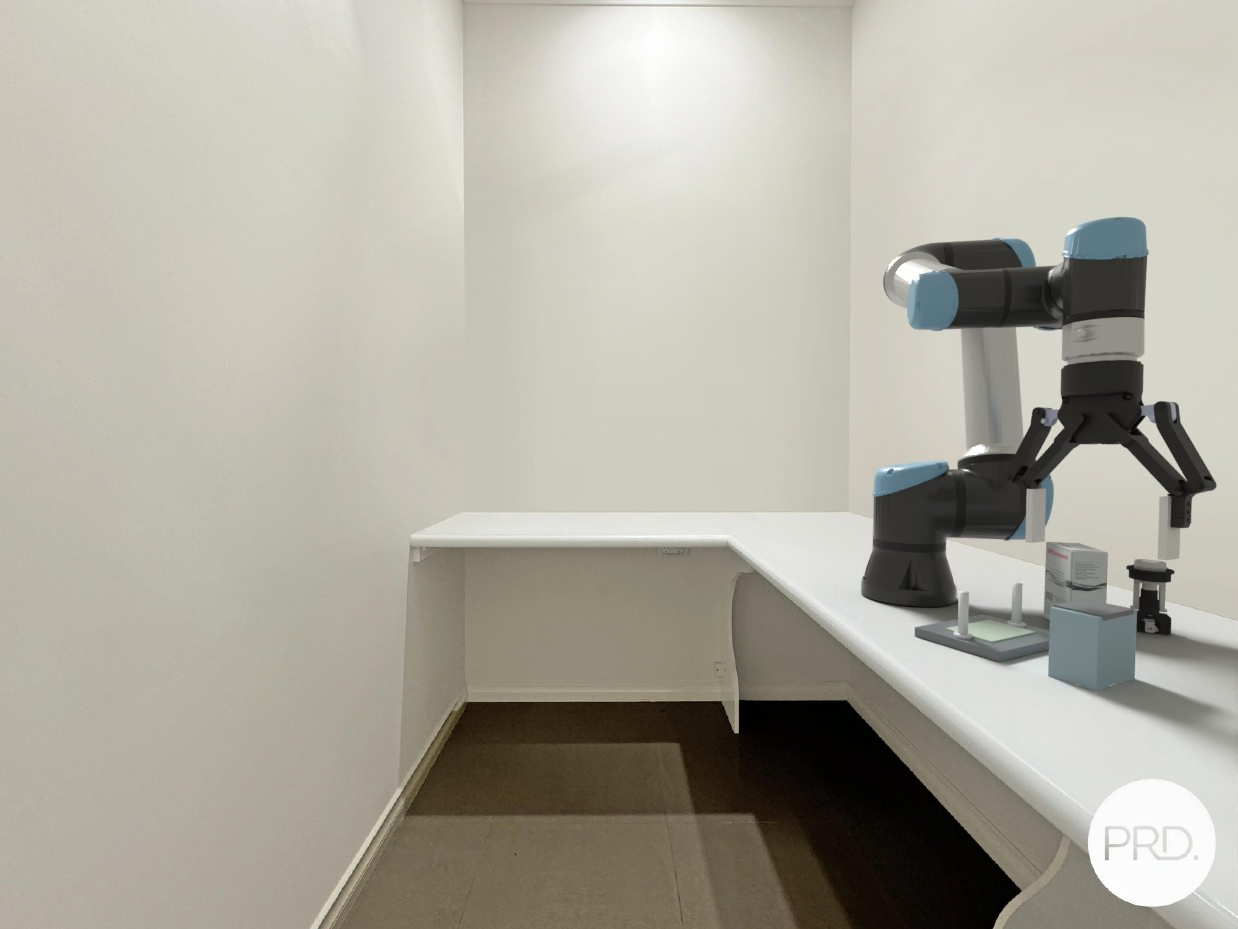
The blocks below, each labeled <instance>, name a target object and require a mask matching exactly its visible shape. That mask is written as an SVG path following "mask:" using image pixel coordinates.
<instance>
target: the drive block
mask: <svg viewBox="0 0 1238 929" xmlns="http://www.w3.org/2000/svg"><path fill="white" fill-rule="evenodd" d="M1136 626H1137V609H1132V608H1130V607H1126V606H1122V605H1116V604H1111V603H1107V602H1106V603H1102V602H1097V601H1092V600H1087V599H1082V600H1077V601H1072V602H1067V603H1062V604H1056V605H1054V607H1051V608H1050V620H1049V631H1050V632H1049V650H1048V667H1047V668H1048V672H1047V676H1048V677H1049V678H1050V677H1051V678H1054V679H1057V680H1060V681H1064V682H1066V683H1069V684H1072V685H1076V684H1078V685H1077V686H1079V685H1080V686H1079V687H1082V686H1083V688H1085V687H1086V689H1089V688H1091V689H1090V690H1092V689H1093V690H1092V691H1096V690H1097V691H1100V690H1102V689H1101V688H1103V689H1106V688H1109V687H1108V686H1110V685H1113V684H1116V685H1118V684H1122V683H1125V681H1126V682H1128V681H1131V680H1135V679H1136V678H1135V676H1136V675H1135V674H1136V654H1137V653H1136V651H1137V650H1136V647H1137V631H1136ZM1113 686H1114V685H1113ZM1110 687H1111V686H1110ZM1099 689H1100V690H1099Z"/></svg>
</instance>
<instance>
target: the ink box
mask: <svg viewBox="0 0 1238 929" xmlns="http://www.w3.org/2000/svg"><path fill="white" fill-rule="evenodd" d="M1108 559H1109V552H1107V551H1103V550H1101V549H1097V548H1096V547H1095V548H1094V547H1092V546H1088V545H1085V544H1083V543H1080V542H1064V541H1063V542H1061V541H1060V542H1059V541H1047V542H1046V541H1045V564H1044V567H1045V568H1044V571H1045V572H1044V597H1043V598H1044V599H1043V600H1044V601H1043V618H1045V619H1046V620H1048V621H1050V608H1051V607H1054V605H1056V604H1062V603H1067V602H1072V601H1077V600H1082V599H1087V600H1092V601H1097V602H1102V603H1107V599H1108V597H1107V594H1108V591H1107V589H1108V566H1109V565H1108V561H1109V560H1108Z"/></svg>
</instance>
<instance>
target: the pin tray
mask: <svg viewBox="0 0 1238 929" xmlns="http://www.w3.org/2000/svg"><path fill="white" fill-rule="evenodd" d="M1011 585H1012V588H1011V590H1012V591H1011V619H1004V618H999V617H996V616H992V615H987V614H984V613H983V614H978V615H972V616H969V615H970V614H969V612H970V611H969V610H970V608H969V607H970V606H969V605H970V592H969V591H966V590H959V591H958V605H957V606H958V609H957V610H958V611H957V618H956V619H951V620H946V621H941V622H935V623H930V624H925V625H920V626H915V627H914V637H917V638H921V639H924V640H927V641H931V642H933V643H937V644H940V645H944V646H947V647H950V648H953V649H956V650H958V651H962V652H966V653H969V654H972V655H976V656H978V657H982V658H985V659H989V660H991V661H995V662H998V663H1000V662H1004V661H1007V660H1012V659H1016V658H1020V657H1021V658H1022V657H1024V656H1025V657H1026V656H1029V655H1032V654H1037V653H1040V652H1044V651H1049V632H1050V630H1048V629H1044V628H1039V627H1036V626H1031V625H1027V624H1026V622H1025V621H1022V614H1023V612H1022V611H1023V583H1022V582H1012V584H1011Z"/></svg>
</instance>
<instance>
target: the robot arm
mask: <svg viewBox="0 0 1238 929" xmlns="http://www.w3.org/2000/svg"><path fill="white" fill-rule="evenodd" d="M1147 240H1148V239H1147V226H1146V224H1145V222H1144V221H1143V220H1142V219H1140V218H1139V219H1138V218H1135V217H1130V216H1129V217H1128V216H1117V217H1107V218H1105V217H1104V218H1099V219H1095V220H1090V221H1086V222H1083V223H1081V224H1079V225H1076V226H1074V227H1073V228H1071V229H1070V230H1069V231H1068V232H1067V233H1066V235H1065V237H1064V245H1063V250H1062V253H1061V256H1062V257H1063V261H1062V262H1060V263H1059V264H1055V265H1043V266H1041V265H1040V266H1037V262H1036V260H1035V255H1034V252H1033V250H1032V248H1031V246H1030V245H1029V244H1028V243H1027V242H1026V241H1024V240H1022V239H1020V238H1003V237H994V238H991V239H977V240H960V241H959V240H957V241H945V242H944V241H943V242H941V241H938V242H929V243H925V244H919V245H917V246H914V247H912V248H910V249H908V250H905V251H903V252H901V253H900V254H898V255H897V256H895V257H894V258H893V259H892V261H890V263H888V266H886V269H885V271H884V274H883V278H882V279H883V280H882V285H883V291H884V294H885V295H886V296H887V297H888V299H889V300H890V301H891V302H893V303H894V304H895V305H896V306H899V307H900V308H906V315H907V320H908V325H909V326H910V327H911V328H913V329H914V330H916V331H917V330H919V331H921V330H922V331H928V330H929V331H933V332H939V331H940V332H941V331H944V330H946V331H947V330H960V342H961V360H962V361H961V364H962V385H963V388H962V389H963V404H964V405H963V406H964V425H965V445H966V446H965V447H966V451H965V453H964V454H963V455H961V457H960V458H959V459H957V469H956V468H955V469H954V468H953V469H950V465H949V463H948V461H947V460H933V461H931V460H930V461H919V462H909V463H900V464H899V463H898V464H893V465H887V466H883V467H881V468H879V469H878V470H877V471H875V475H874V480H873V491H872V498H873V508H872V509H873V514H872V518H873V519H872V549H871V552H870V556H869V559H868V561H867V564H866V567H865V571H864V574H863V576H862V578H861V582H860V584H861V585H860V592H861V593H860V594H862V595H863V596H864V597H865V598H869V599H871V600H875V601H878V602H882V603H887V604H891V605H898V606H906V607H907V606H908V607H922V608H923V607H927V608H930V607H931V608H933V607H935V608H936V607H937V608H938V607H947V606H952V605H955V604H956V602H957V599H958V596H957V595H958V594H957V593H958V590H957V585H956V584H955V581H954V576H953V573H952V570H951V566H950V563H949V560H948V558H947V539H948V538H950V539H951V538H953V539H975V540H976V539H978V540H979V539H981V540H982V539H983V540H1003V541H1004V542H1009V541H1013V540H1015V541H1016V540H1017V541H1018V540H1019V541H1025V543H1031V544H1033V543H1034V544H1035V543H1043V542H1045V543H1046V527H1047V524H1048V523H1049V520H1050V517H1051V514H1052V510H1053V505H1054V496H1055V493H1054V492H1055V490H1054V489H1055V488H1054V481H1053V480H1052V476H1051V473H1053V471H1054V470H1055V469H1056V468H1057V467H1058V466H1059V465H1060V463H1061V462H1062V461H1063V460H1064V459H1065V458H1066V457H1068V455H1069V454H1070V453H1071V452H1072V451H1073V450H1074V449H1075V448H1077V447H1079V446H1080V445H1099V444H1100V445H1121V446H1122V447H1123V448H1125V449H1127V450H1128V451H1129V452H1130V453H1131V454H1132V456H1134V458H1135V459H1136V460H1137V461H1138V462H1139V463H1140V464H1141V465H1142V466H1143V467H1144V468H1145V470H1147V471H1148V472H1149V474H1150V475H1151V476H1153V478H1154V479H1155V480H1156V481H1157V482H1158V483H1159V485H1161V487H1163V489H1164V490H1166V492H1167V494H1166V496H1159V500H1158V501H1159V502H1158V531H1157V532H1158V533H1157V534H1158V535H1157V536H1158V537H1157V538H1158V539H1157V540H1158V541H1157V560H1159V561H1170V560H1177V559H1180V546H1181V545H1180V544H1181V529H1188V528H1190V526H1191V525H1192V510H1193V509H1192V508H1193V507H1192V504H1193V502H1192V500H1193V497H1195V496H1196V495H1198V494H1201V493H1207V492H1212V491H1215V490H1216V489H1217V485H1218V484H1217V483H1216V481H1215V478H1214V477H1213V475H1212V473H1211V471H1210V470H1209V469H1208V467H1207V465H1206V463H1205V462H1204V460H1203V458H1202V456H1201V455H1200V454H1199V451H1198V450H1197V448H1196V446H1195V444H1194V443H1193V441H1192V440H1191V438H1190V436H1189V434H1188V433H1187V431H1186V429H1185V428H1184V426H1183V424H1182V423H1181V414H1180V406H1179V404H1178V402H1174V401H1163V400H1160V401H1157V402H1155V403H1154V404H1153V403H1152V404H1147V405H1145V404H1144V402H1143V399H1142V398H1143V392H1144V369H1145V366H1144V363H1142V361H1140V360H1138V358H1141V357H1143V355H1144V354H1145V314H1146V313H1145V312H1146V309H1145V308H1146V292H1147V290H1146V288H1147V270H1148V269H1147V266H1148V255H1149V251H1150V250H1149V249H1148V243H1147ZM1030 327H1031V328H1034V329H1037V330H1039V331H1046V332H1053V331H1057V330H1062V331H1061V332H1062V334H1061V360H1062V361H1063V362H1065V363H1067V364H1066V365H1063V366H1062V367H1061V370H1060V398H1061V404H1060V407H1059V409H1053V408H1051V407H1042V406H1041V407H1039V406H1037V407H1034V408H1033V409H1032V411H1031V416H1030V417H1031V418H1030V423H1029V424H1030V425H1029V427H1028V429H1027V431H1026V433H1025V435H1024V426H1023V425H1024V424H1023V410H1022V398H1021V396H1022V394H1021V384H1020V383H1021V382H1020V380H1021V379H1020V368H1019V354H1018V353H1019V352H1018V338H1017V328H1030ZM1146 417H1147V418H1148V419H1149V421H1150V422H1151V423H1152V424H1155V425H1156V428H1157V430H1158V432H1159V434H1160V436H1161V438H1162V440H1163V441H1164V443H1165V445H1166V447H1167V449H1168V450H1169V452H1170V454H1171V455H1172V457H1173V459H1174V460H1175V462H1176V464H1177V466H1178V467H1179V469H1180V471H1181V473H1182V474H1180V472H1179V471H1178V470H1177V469H1176V468H1175V467H1174V466H1173V465H1172V464H1171V462H1169V461H1168V459H1166V458H1165V457H1164V456H1163V455H1162V454H1161V452H1159V450H1157V448H1155V447H1154V446H1153V445H1152V443H1151V442H1150V441H1149V440H1150V439H1149V438H1148V437H1147V436H1146V435H1145V434H1144V433H1143V432H1142V431H1141V430H1140V429H1139V428H1138V426H1139V425H1140V424H1141V423H1142V422H1143V420H1145V419H1146ZM1058 421H1059V423H1060V424H1061V426H1062V427H1063V428H1062V429H1061V431H1060V432H1059V433H1057V435H1056V436H1055V437H1054V438H1053V442H1052V443H1051V445H1050V446H1049V447H1048V448H1047V449H1045V450H1044V452H1043V453H1042V454H1041V455H1040V457H1038V458H1037V456H1038V455H1039V453H1040V452H1041V450H1042V448H1043V446H1044V443H1045V442H1046V440H1047V439H1048V436H1049V434H1050V432H1051V431H1052V427H1053V426H1055V425H1056V424H1057V422H1058Z"/></svg>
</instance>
